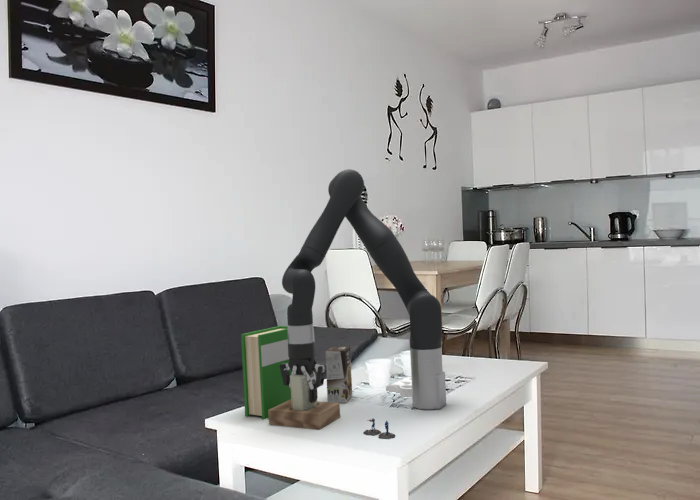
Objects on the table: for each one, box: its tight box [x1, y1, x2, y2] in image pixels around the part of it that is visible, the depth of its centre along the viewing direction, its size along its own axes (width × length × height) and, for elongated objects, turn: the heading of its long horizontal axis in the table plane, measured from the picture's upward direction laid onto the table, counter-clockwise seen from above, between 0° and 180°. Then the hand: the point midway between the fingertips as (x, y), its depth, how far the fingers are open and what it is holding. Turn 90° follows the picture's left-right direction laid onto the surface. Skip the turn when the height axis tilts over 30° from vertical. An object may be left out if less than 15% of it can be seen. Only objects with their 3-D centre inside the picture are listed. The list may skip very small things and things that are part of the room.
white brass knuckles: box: [385, 376, 412, 397], centre depth 203 cm, size 3×18×15 cm
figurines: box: [363, 417, 396, 440], centre depth 159 cm, size 10×5×4 cm, turn 46°
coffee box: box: [325, 345, 353, 404], centre depth 196 cm, size 9×6×16 cm
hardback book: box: [240, 325, 292, 420], centre depth 187 cm, size 18×7×24 cm, turn 147°
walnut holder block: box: [268, 400, 341, 430], centre depth 174 cm, size 16×12×4 cm
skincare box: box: [290, 372, 318, 411], centre depth 174 cm, size 6×4×12 cm
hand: (304, 401), depth 174 cm, fingers closed on skincare box, 5 cm apart
